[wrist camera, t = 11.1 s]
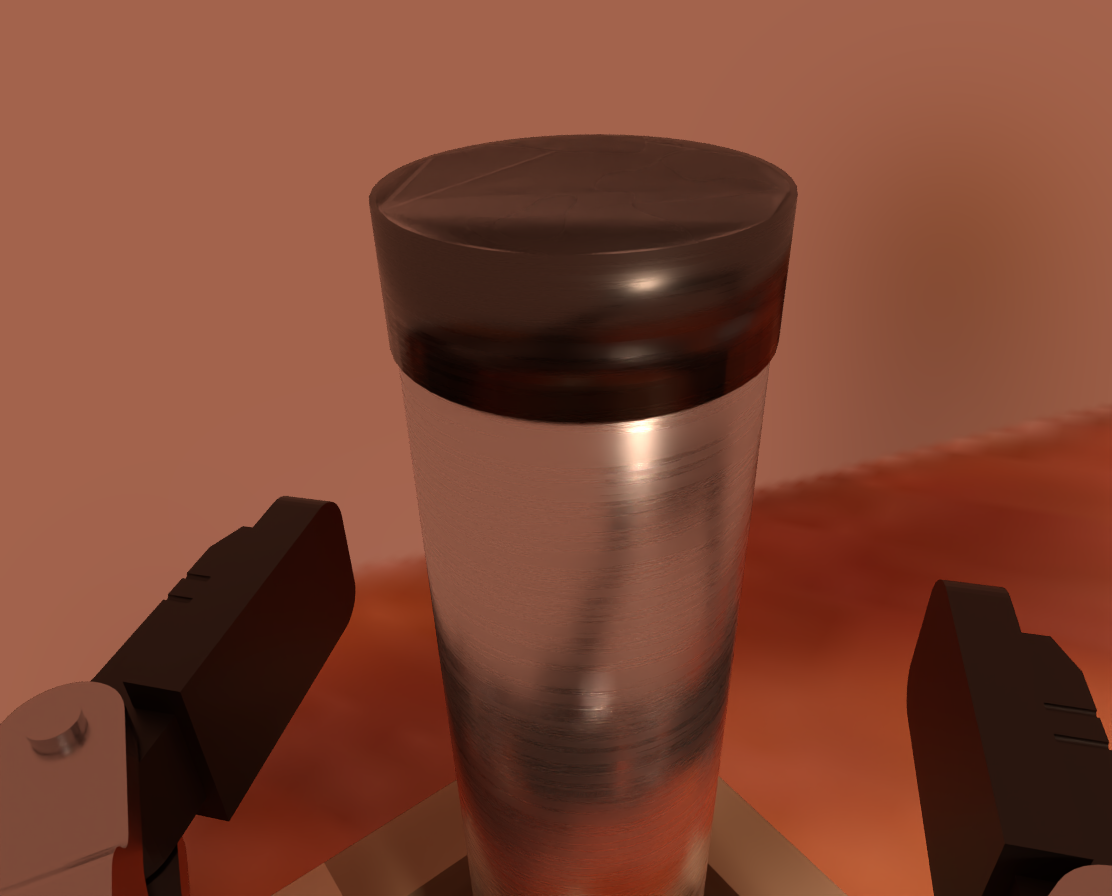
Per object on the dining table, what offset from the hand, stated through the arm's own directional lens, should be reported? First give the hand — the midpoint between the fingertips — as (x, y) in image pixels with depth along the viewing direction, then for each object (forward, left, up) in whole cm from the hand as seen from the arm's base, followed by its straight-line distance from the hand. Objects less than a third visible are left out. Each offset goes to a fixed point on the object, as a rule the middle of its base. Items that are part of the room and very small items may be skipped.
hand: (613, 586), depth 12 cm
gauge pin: (-1, +1, -10) cm, 10 cm away
